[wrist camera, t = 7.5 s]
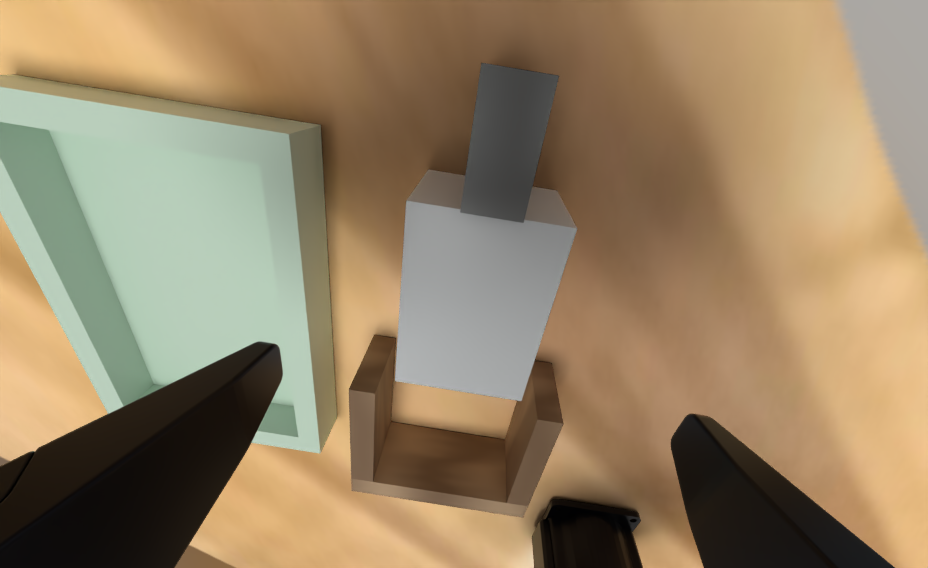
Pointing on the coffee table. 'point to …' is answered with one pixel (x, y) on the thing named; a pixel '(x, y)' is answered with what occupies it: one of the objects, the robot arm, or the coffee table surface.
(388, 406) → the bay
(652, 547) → the coffee table surface
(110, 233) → the tray
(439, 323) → the grey stepped block
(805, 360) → the coffee table surface
